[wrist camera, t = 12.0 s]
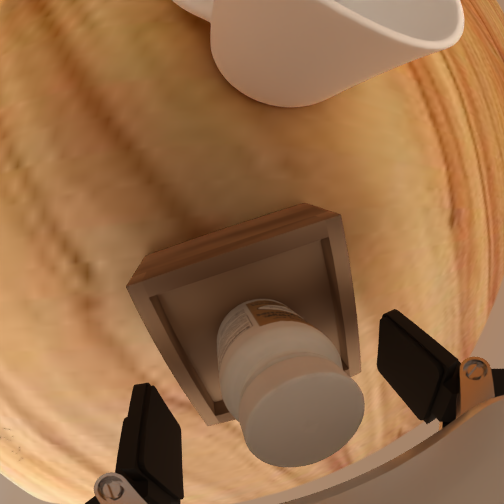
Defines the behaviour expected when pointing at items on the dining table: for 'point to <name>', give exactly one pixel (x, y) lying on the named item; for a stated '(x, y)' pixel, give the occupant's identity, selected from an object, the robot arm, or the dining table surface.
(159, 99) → the dining table surface
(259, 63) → the mug
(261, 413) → the pill bottle
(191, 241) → the walnut box
